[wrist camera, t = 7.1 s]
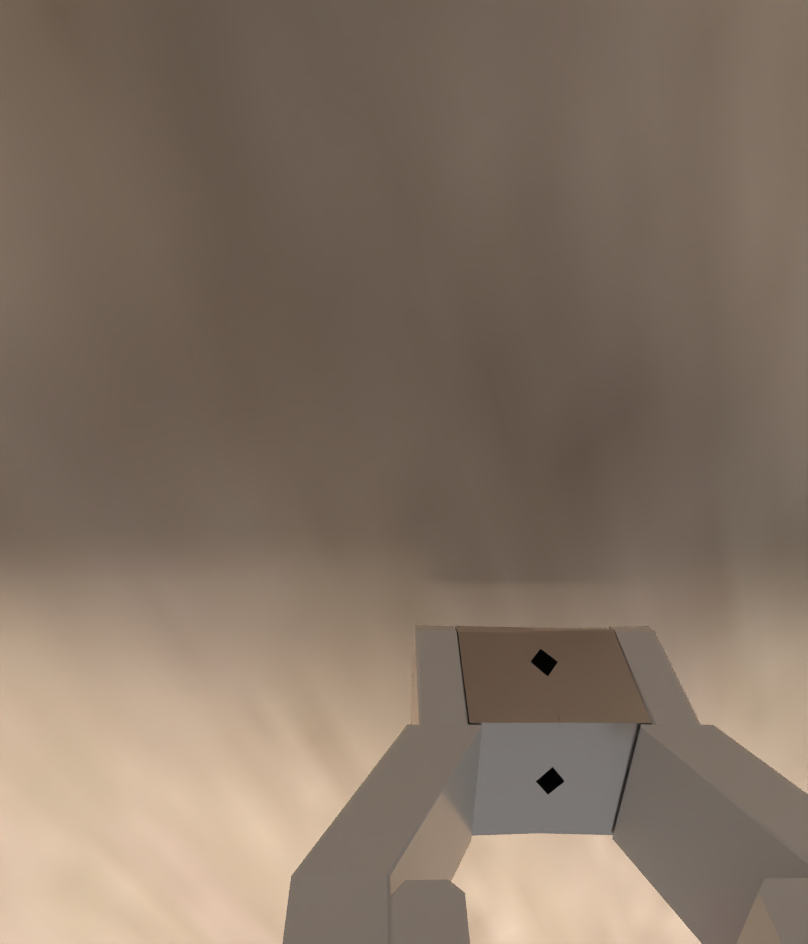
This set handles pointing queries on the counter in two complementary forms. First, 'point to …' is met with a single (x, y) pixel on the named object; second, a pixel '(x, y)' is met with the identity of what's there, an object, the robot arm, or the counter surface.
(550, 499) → the counter surface
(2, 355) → the counter surface
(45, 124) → the counter surface
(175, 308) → the counter surface
